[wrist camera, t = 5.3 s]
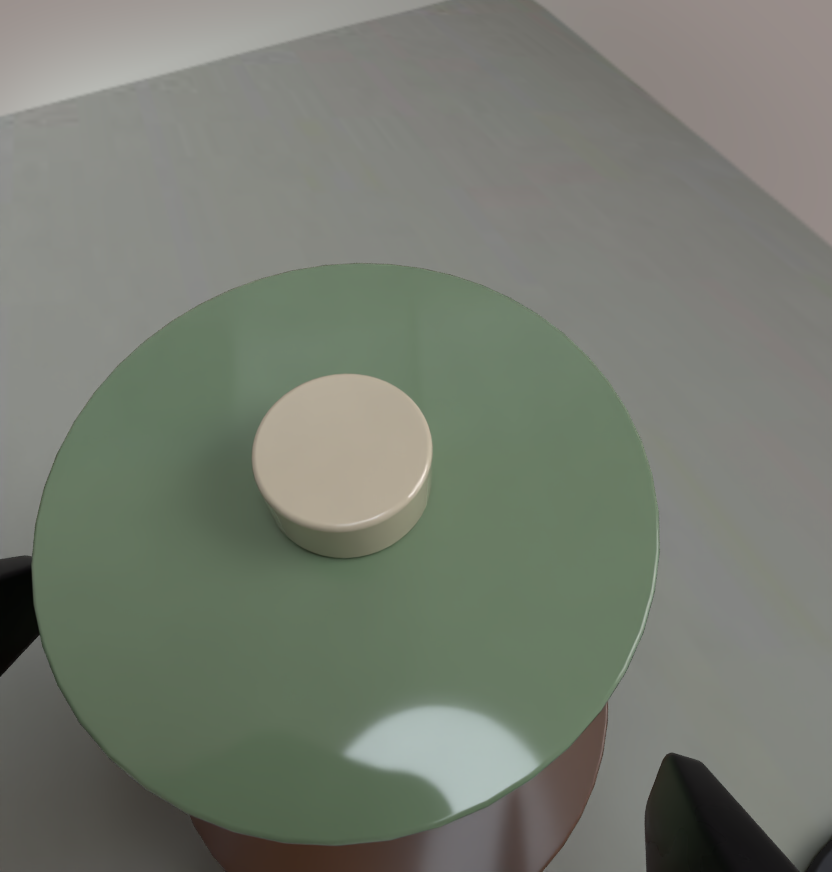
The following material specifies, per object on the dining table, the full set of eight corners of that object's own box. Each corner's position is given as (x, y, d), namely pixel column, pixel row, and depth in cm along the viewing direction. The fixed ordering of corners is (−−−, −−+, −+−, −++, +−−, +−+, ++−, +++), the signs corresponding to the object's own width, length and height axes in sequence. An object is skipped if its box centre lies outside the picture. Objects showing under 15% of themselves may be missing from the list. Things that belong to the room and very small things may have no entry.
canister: (304, 880, 14) (24, 1057, 4) (223, 598, 17) (-41, 313, 7) (572, 741, 15) (852, 621, 5) (451, 505, 18) (489, 159, 8)
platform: (256, 1027, 14) (233, 1058, 12) (153, 581, 19) (126, 558, 17) (671, 796, 16) (702, 794, 14) (478, 452, 21) (483, 421, 20)
